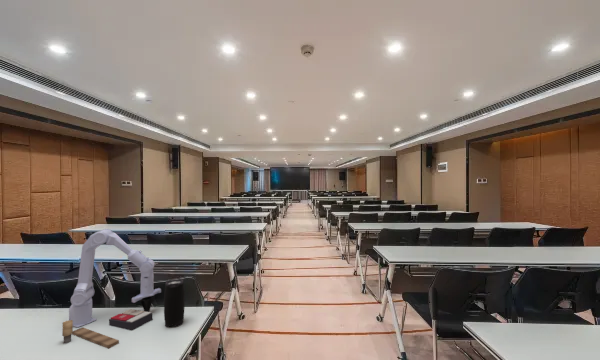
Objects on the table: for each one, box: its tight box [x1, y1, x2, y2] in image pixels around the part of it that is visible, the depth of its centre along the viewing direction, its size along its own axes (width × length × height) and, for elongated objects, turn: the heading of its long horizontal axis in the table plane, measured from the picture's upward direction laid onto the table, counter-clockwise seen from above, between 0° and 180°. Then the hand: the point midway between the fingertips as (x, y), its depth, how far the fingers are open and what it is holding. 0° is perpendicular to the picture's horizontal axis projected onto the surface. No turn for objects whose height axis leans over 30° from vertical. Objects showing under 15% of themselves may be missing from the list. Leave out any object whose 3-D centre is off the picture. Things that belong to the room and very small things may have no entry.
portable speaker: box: [163, 278, 186, 328], centre depth 128 cm, size 9×9×20 cm
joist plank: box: [71, 326, 120, 349], centre depth 115 cm, size 26×4×1 cm, turn 65°
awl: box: [61, 319, 74, 344], centre depth 113 cm, size 3×3×8 cm
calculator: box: [108, 308, 153, 331], centre depth 130 cm, size 11×4×15 cm
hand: (146, 311), depth 138 cm, fingers closed
